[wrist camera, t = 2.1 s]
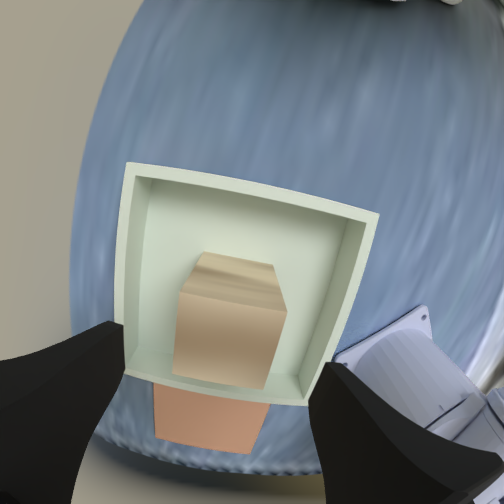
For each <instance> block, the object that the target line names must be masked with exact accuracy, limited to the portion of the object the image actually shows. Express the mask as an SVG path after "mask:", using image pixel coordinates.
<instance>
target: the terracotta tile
mask: <svg viewBox="0 0 504 504" xmlns="http://www.w3.org/2000/svg"><path fill="white" fill-rule="evenodd" d="M269 407H270V403H260V402H251V401H244V400H236V399H230V398H223V397H217V396H212V395H206V394H201V393H196V392H191V391H187V390H182V389H178V388H174V387H170V386H166V385H162V384H158V383H154V420H155V437H156V438H159V439H163V440H167V441H171V442H175V443H180V444H184V445H189V446H194V447H200V448H205V449H211V450H218V451H225V452H233V453H242V454H250V453H251V450H252V448H253V446H254V443H255V441H256V439H257V436H258V434H259V432H260V429H261V427H262V424H263V422H264V419H265V417H266V414H267V412H268V409H269Z"/></svg>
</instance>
